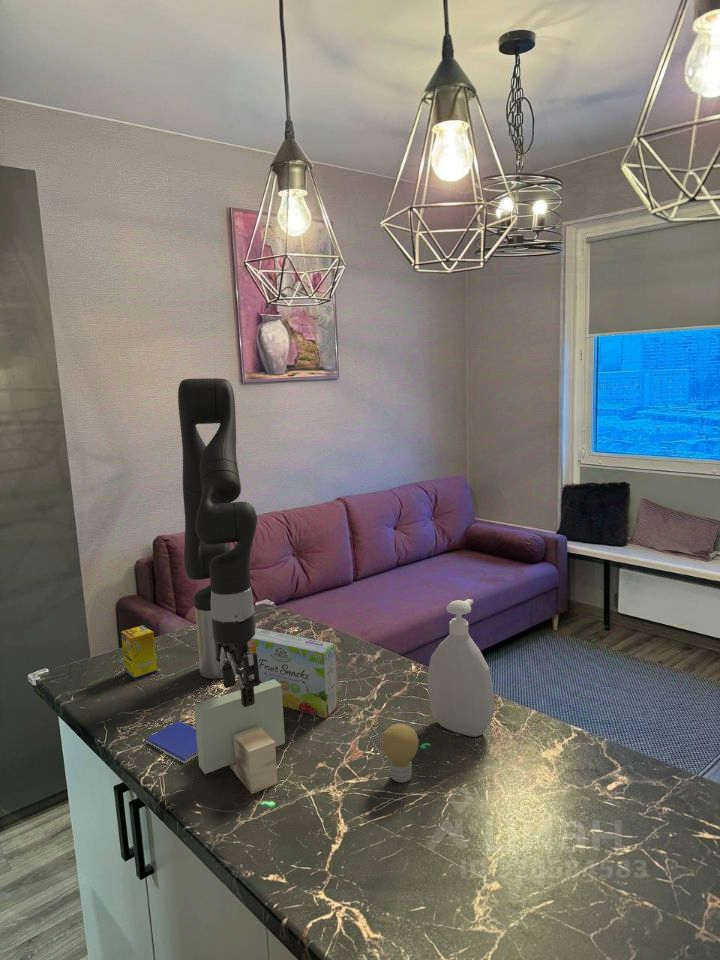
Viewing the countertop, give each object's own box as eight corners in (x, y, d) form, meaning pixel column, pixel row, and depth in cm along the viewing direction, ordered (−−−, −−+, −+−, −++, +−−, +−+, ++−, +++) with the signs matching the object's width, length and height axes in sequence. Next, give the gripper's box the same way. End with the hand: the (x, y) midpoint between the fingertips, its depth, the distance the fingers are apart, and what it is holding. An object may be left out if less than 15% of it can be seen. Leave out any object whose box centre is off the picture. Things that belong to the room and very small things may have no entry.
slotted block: (213, 746, 128) (210, 709, 127) (237, 738, 131) (234, 701, 129) (251, 794, 113) (248, 752, 112) (277, 783, 116) (275, 742, 115)
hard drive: (218, 738, 129) (179, 719, 137) (184, 759, 123) (145, 737, 130) (218, 746, 129) (180, 726, 137) (185, 766, 123) (146, 745, 131)
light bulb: (425, 773, 117) (424, 722, 116) (409, 793, 112) (407, 740, 110) (393, 763, 120) (392, 713, 119) (376, 783, 115) (375, 731, 113)
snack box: (245, 699, 147) (241, 635, 144) (260, 687, 152) (256, 626, 149) (326, 719, 137) (323, 651, 134) (339, 706, 142) (336, 641, 139)
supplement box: (124, 673, 162) (120, 631, 160) (147, 665, 166) (143, 624, 164) (134, 681, 157) (130, 638, 155) (157, 672, 161) (154, 630, 159)
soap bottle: (503, 728, 131) (503, 600, 126) (485, 747, 124) (484, 613, 120) (441, 708, 140) (438, 587, 135) (420, 725, 133) (417, 599, 129)
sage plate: (199, 765, 119) (193, 704, 117) (278, 736, 127) (274, 679, 125) (204, 774, 116) (199, 711, 114) (285, 743, 125) (281, 685, 123)
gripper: (198, 605, 121) (205, 686, 124) (228, 629, 109) (235, 718, 112) (236, 596, 125) (242, 675, 128) (269, 619, 113) (274, 705, 116)
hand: (238, 695), depth 120 cm, fingers open, 8 cm apart
